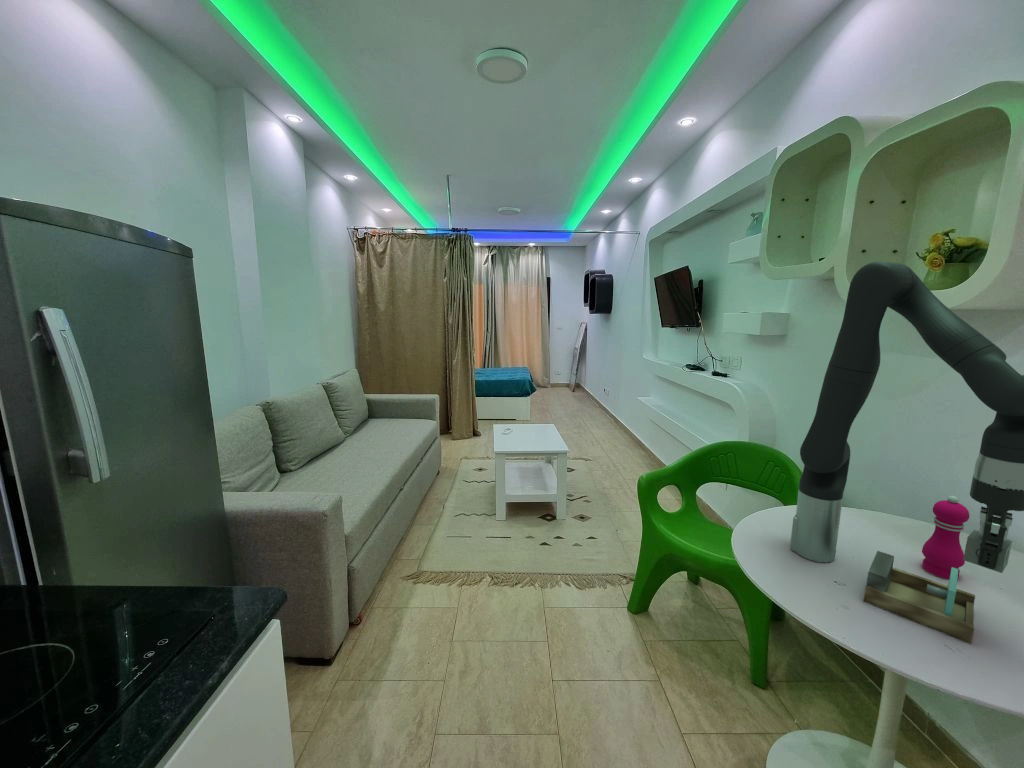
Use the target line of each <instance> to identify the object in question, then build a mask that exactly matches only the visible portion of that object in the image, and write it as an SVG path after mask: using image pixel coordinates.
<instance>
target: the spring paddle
mask: <svg viewBox="0 0 1024 768" xmlns="http://www.w3.org/2000/svg"><path fill="white" fill-rule="evenodd" d="M958 569H959V568H958ZM958 569H956V568H953V567H952V568H951V573H950V579H948V585H947V586H948V589H947V591H946V590H943V589H940V588H937V587H934V586H931V585H928V584H927V590H926V592H929V593H932V594H934V595H937V596H940V597H943V598H946V600H945V607H944V614H945V615H948V616H952V611H953V606H954V600H955V595H956V589H958V588H957V586H958V579H959V577H958Z"/></svg>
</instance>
